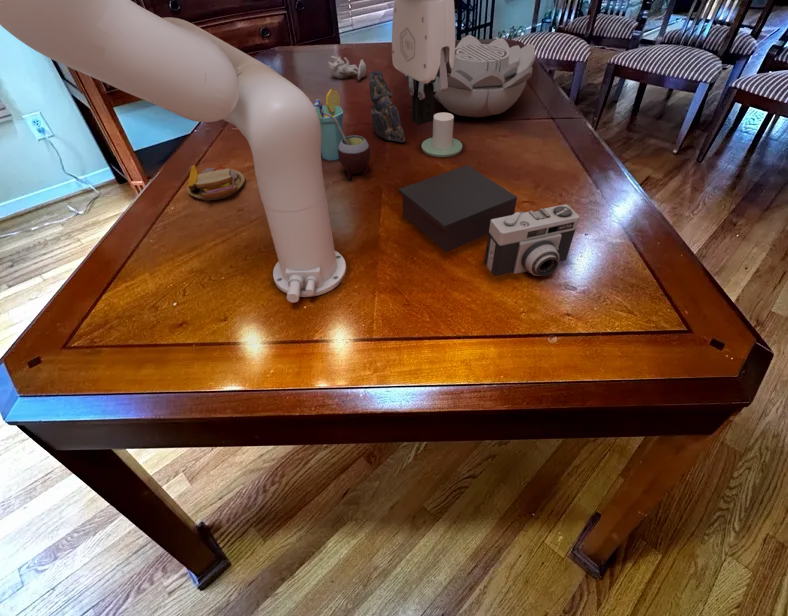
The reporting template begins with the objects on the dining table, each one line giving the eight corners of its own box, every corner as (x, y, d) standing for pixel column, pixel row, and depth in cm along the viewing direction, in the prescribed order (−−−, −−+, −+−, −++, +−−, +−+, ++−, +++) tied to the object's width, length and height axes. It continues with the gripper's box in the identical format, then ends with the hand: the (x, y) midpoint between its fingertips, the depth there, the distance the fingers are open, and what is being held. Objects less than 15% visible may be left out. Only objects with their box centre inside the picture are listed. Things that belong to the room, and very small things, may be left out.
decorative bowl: (554, 121, 119) (568, 59, 109) (454, 142, 112) (459, 78, 102) (495, 84, 139) (502, 29, 129) (407, 100, 132) (407, 43, 122)
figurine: (365, 68, 140) (327, 61, 140) (363, 88, 145) (326, 81, 144) (368, 56, 147) (332, 49, 146) (366, 76, 151) (331, 70, 150)
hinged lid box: (446, 255, 81) (447, 228, 77) (402, 217, 90) (402, 191, 86) (511, 227, 86) (516, 200, 82) (464, 194, 95) (466, 168, 91)
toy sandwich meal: (247, 170, 105) (241, 151, 102) (244, 201, 96) (238, 181, 92) (192, 177, 104) (184, 157, 100) (183, 208, 94) (175, 188, 91)
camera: (503, 294, 73) (512, 245, 66) (482, 263, 79) (489, 215, 72) (578, 276, 76) (596, 227, 69) (553, 248, 81) (566, 200, 74)
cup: (339, 172, 103) (330, 105, 93) (307, 170, 104) (295, 104, 94) (354, 145, 113) (348, 81, 102) (324, 143, 114) (315, 80, 103)
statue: (395, 148, 111) (393, 84, 100) (366, 132, 118) (361, 71, 107) (412, 141, 113) (412, 77, 103) (383, 126, 120) (380, 65, 109)
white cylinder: (452, 149, 108) (454, 120, 103) (433, 149, 108) (434, 121, 103) (450, 140, 112) (452, 111, 107) (431, 141, 112) (432, 112, 107)
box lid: (444, 229, 76) (444, 226, 76) (398, 192, 85) (398, 188, 85) (516, 200, 82) (517, 196, 82) (466, 168, 91) (467, 164, 90)
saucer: (464, 156, 107) (464, 154, 106) (422, 157, 107) (422, 155, 107) (459, 137, 114) (459, 135, 114) (420, 139, 114) (420, 137, 114)
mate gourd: (377, 170, 103) (373, 104, 93) (358, 186, 99) (351, 118, 88) (350, 163, 106) (343, 98, 95) (330, 178, 101) (321, 111, 91)
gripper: (372, -23, 62) (378, 111, 75) (435, -5, 53) (430, 144, 66) (417, -30, 65) (416, 101, 78) (484, -14, 56) (470, 132, 69)
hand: (422, 121), depth 72 cm, fingers closed
